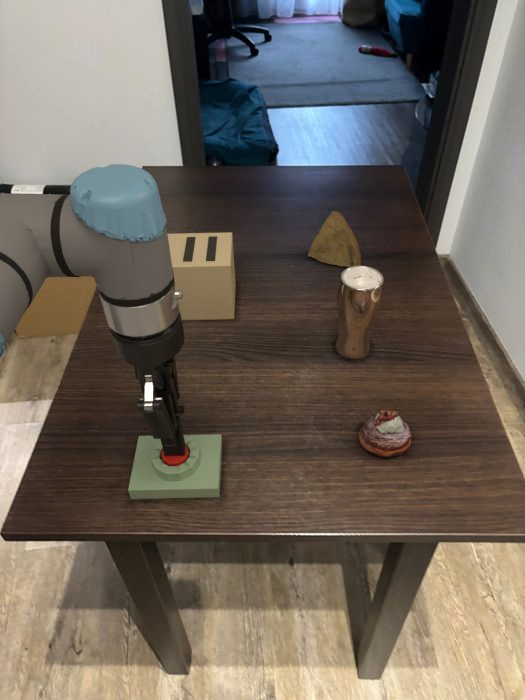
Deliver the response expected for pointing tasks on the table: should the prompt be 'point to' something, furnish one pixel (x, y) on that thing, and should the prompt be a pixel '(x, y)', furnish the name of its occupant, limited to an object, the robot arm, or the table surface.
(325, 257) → the rock
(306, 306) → the table surface
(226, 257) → the toaster
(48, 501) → the table surface
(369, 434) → the pastry
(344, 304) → the beer glass
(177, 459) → the red button
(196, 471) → the control block
